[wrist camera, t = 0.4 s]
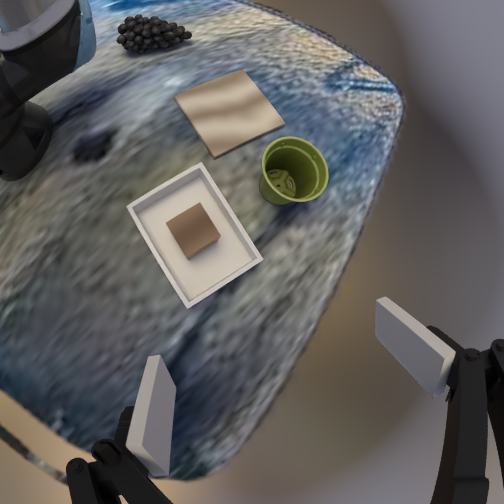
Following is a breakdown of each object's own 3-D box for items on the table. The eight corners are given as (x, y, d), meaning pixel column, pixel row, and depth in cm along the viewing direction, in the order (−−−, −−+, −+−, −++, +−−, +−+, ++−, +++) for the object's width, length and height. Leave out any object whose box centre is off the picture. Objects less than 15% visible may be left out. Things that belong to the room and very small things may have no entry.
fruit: (196, 7, 35) (118, 10, 31) (189, 39, 36) (107, 43, 33) (194, 28, 43) (126, 29, 39) (188, 58, 45) (118, 60, 41)
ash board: (174, 99, 42) (173, 96, 41) (241, 72, 45) (242, 69, 44) (213, 159, 42) (214, 156, 41) (283, 126, 45) (285, 123, 44)
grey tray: (133, 213, 39) (126, 206, 35) (200, 173, 41) (201, 162, 37) (188, 305, 39) (187, 308, 35) (256, 261, 42) (263, 259, 38)
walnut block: (169, 230, 39) (165, 222, 33) (199, 212, 40) (199, 201, 34) (187, 260, 39) (186, 257, 33) (217, 241, 40) (221, 235, 34)
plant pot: (293, 155, 45) (312, 131, 36) (313, 206, 45) (338, 191, 36) (241, 167, 43) (252, 143, 34) (261, 222, 43) (277, 210, 34)
